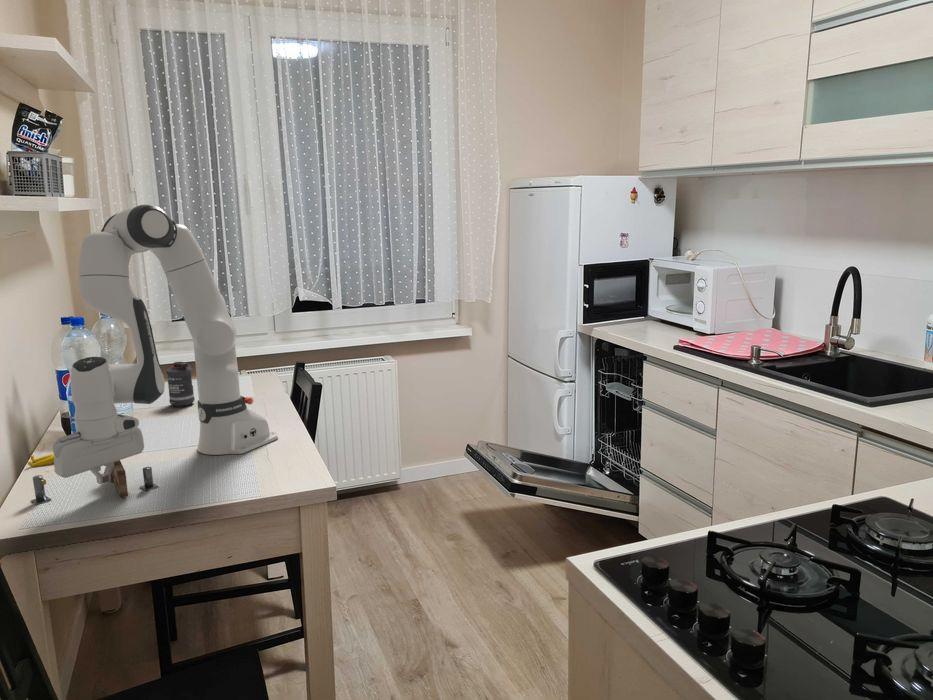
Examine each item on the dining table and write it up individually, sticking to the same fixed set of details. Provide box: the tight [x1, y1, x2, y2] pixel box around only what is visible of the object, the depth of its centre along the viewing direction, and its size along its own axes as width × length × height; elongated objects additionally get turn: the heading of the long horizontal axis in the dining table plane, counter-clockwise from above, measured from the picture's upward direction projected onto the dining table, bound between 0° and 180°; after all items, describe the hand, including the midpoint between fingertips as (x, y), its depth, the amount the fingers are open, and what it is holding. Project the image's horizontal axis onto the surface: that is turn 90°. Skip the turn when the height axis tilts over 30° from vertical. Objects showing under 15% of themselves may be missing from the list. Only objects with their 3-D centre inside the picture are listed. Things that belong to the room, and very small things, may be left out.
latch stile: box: [30, 474, 52, 506], centre depth 162 cm, size 3×3×6 cm
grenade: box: [166, 361, 195, 408], centre depth 239 cm, size 8×8×15 cm
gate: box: [112, 460, 129, 498], centre depth 168 cm, size 14×2×6 cm, turn 33°
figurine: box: [27, 453, 54, 468], centre depth 189 cm, size 14×5×18 cm
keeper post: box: [139, 466, 160, 492], centre depth 170 cm, size 3×3×5 cm
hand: (104, 482), depth 166 cm, fingers closed
